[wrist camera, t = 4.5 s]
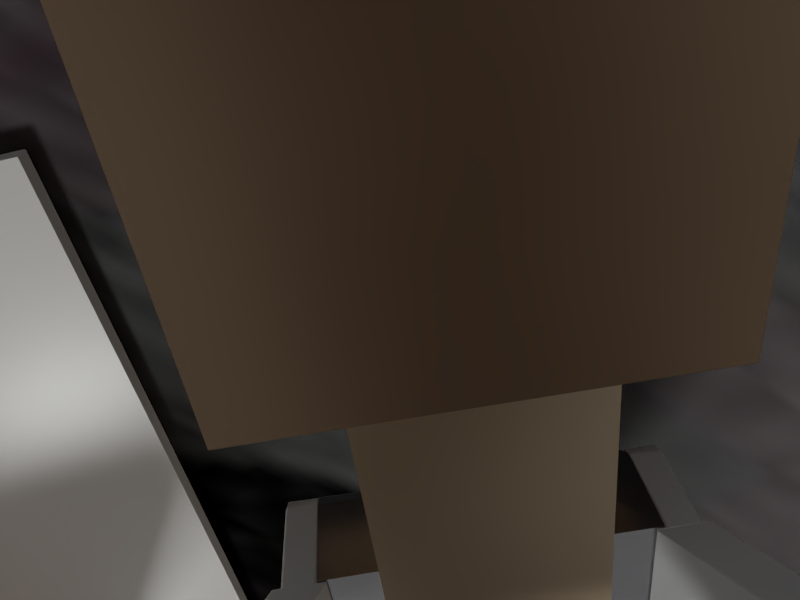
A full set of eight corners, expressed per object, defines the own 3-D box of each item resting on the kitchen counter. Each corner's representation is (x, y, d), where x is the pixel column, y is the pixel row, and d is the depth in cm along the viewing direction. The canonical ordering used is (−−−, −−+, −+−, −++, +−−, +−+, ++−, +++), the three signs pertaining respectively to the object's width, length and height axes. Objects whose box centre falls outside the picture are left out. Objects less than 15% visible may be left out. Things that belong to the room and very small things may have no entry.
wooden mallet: (643, -173, 8) (858, -200, 5) (604, 652, 17) (672, 843, 14) (141, -96, 8) (14, -72, 5) (364, 691, 17) (373, 892, 14)
